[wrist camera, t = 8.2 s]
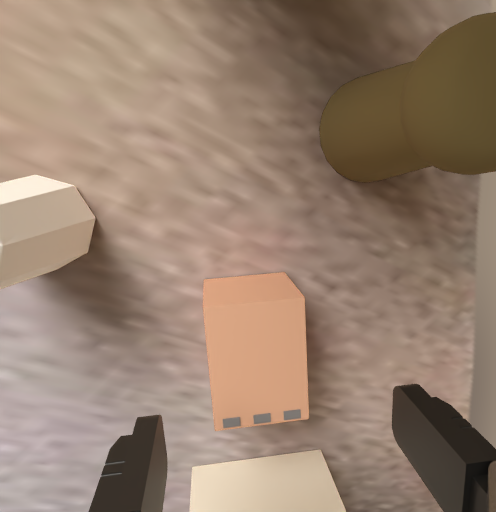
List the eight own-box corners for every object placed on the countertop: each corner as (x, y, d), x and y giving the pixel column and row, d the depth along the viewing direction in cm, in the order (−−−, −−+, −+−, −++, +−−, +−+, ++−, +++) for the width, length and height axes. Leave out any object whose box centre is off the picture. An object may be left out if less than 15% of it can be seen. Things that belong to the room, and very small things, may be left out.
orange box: (203, 279, 23) (202, 307, 18) (284, 272, 23) (304, 297, 18) (213, 380, 24) (215, 431, 19) (288, 371, 25) (309, 419, 20)
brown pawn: (434, 144, 23) (636, 114, 12) (353, 202, 23) (479, 224, 12) (386, 53, 21) (565, -71, 11) (299, 116, 22) (389, 56, 11)
